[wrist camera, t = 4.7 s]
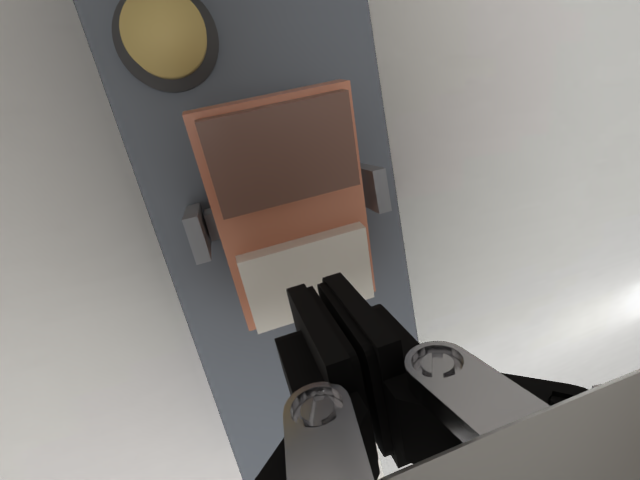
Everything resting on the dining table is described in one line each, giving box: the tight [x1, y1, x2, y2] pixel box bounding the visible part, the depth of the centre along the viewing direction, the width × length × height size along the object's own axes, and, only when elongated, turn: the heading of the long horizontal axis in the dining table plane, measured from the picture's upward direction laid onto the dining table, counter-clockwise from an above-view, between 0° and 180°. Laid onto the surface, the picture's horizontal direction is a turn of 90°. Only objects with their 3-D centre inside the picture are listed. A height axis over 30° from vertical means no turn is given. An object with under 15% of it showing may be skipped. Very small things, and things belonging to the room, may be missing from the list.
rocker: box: [182, 79, 376, 334], centre depth 14 cm, size 8×5×2 cm, turn 12°
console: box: [73, 0, 418, 480], centre depth 17 cm, size 26×10×6 cm, turn 12°
